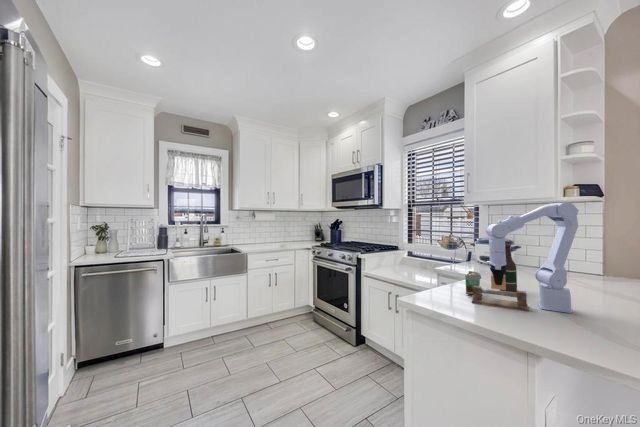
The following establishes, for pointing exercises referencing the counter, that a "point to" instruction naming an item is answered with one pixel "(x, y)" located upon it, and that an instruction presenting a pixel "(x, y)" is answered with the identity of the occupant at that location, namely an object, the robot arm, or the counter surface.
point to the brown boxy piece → (518, 305)
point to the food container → (472, 281)
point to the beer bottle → (510, 271)
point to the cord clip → (501, 287)
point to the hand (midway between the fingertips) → (498, 283)
